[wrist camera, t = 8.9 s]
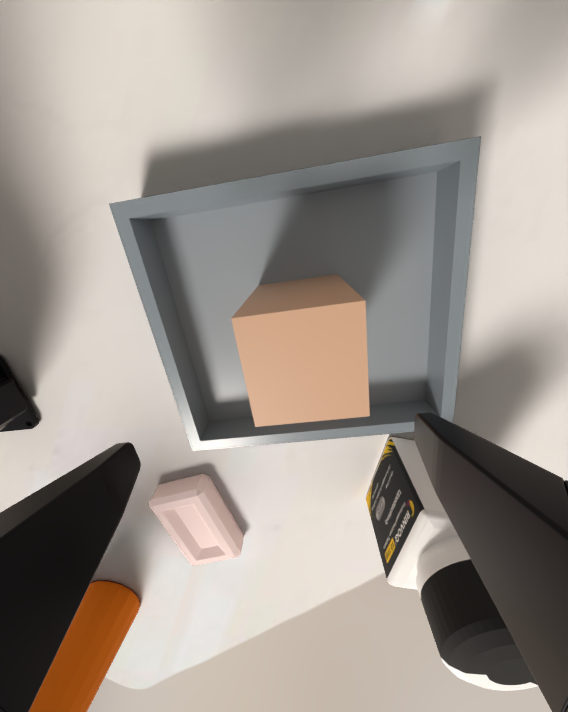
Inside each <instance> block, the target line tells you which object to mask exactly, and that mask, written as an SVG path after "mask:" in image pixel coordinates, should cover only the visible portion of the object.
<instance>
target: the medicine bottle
mask: <svg viewBox="0 0 568 712" xmlns="http://www.w3.org/2000/svg"><path fill="white" fill-rule="evenodd" d="M366 501H367V505H368V509H369V512H370V516H371V520H372V524H373V528H374V532H375V535H376V539H377V543H378V547H379V551H380V555H381V558H382V562H383V566H384V570H385V574H386V578H387V581H388V582H389V584H390V585H392V586H396V587H403V588H409V589H417V590H418V592H419V595H420V598H421V600H422V604H423V606H424V609H425V612H426V615H427V618H428V621H429V624H430V627H431V630H432V633H433V636H434V639H435V642H436V645H437V648H438V651H439V653H440V656H441V659H442V661H443V663H444V664H445V665H446V666H447V667H448V668H449V669H450V670H451V671H452V672H453V673H454V674H455V675H456V676H457V677H459V678H460V679H462V680H464V681H467V682H469V683H472V684H475V685H477V686H480V687H483V688H487V689H492V690H502V691H503V690H504V691H510V690H521V689H528V688H532V687H536V686H538V684H537V682H536V680H535V678H534V677H533V675H532V673H531V671H530V669H529V667H528V665H527V663H526V662H525V660H524V658H523V656H522V654H521V652H520V650H519V648H518V647H517V645H516V643H515V641H514V639H513V637H512V635H511V633H510V632H509V630H508V628H507V626H506V624H505V622H504V620H503V618H502V617H501V615H500V613H499V611H498V609H497V607H496V605H495V603H494V602H493V600H492V598H491V596H490V594H489V592H488V590H487V588H486V587H485V585H484V583H483V581H482V579H481V577H480V575H479V573H478V572H477V570H476V568H475V566H474V564H473V562H472V560H471V559H470V557H469V555H468V553H467V551H466V549H465V547H464V545H463V544H462V542H461V540H460V538H459V536H458V534H457V532H456V530H455V529H454V527H453V525H452V523H451V521H450V519H449V517H448V515H447V514H446V512H445V510H444V508H443V506H442V504H441V502H440V500H439V498H438V496H437V494H436V492H435V490H434V488H433V486H432V483H431V481H430V478H429V476H428V473H427V471H426V468H425V466H424V463H423V461H422V458H421V456H420V453H419V451H418V448H417V446H416V443H415V440H408V439H402V438H396V437H390V438H389V439H388V441H387V443H386V446H385V449H384V451H383V454H382V457H381V459H380V462H379V464H378V467H377V470H376V472H375V475H374V478H373V480H372V483H371V485H370V488H369V491H368V493H367V496H366Z"/></svg>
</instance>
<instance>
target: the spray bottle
mask: <svg viewBox="0 0 568 712" xmlns="http://www.w3.org/2000/svg"><path fill="white" fill-rule="evenodd" d="M139 607H140V602H139V599H138V597H137V596H136V595H135V594H134V593H133V592H132V591H131V590H130V589H129V588H127V587H125V586H123V585H121V584H118V583H114V582H110V581H97V582H93V583H90V585H89V587H88V589H87V591H86V593H85V596H84V598H83V600H82V602H81V604H80V606H79V608H78V610H77V612H76V614H75V616H74V619H73V621H72V623H71V625H70V627H69V629H68V631H67V633H66V635H65V637H64V639H63V641H62V644H61V646H60V648H59V650H58V652H57V654H56V656H55V658H54V660H53V662H52V664H51V667H50V669H49V671H48V673H47V675H46V677H45V679H44V681H43V683H42V685H41V687H40V690H39V692H38V694H37V696H36V698H35V700H34V702H33V704H32V706H31V708H30V710H29V712H87V710H88V708H89V706H90V704H91V702H92V701H93V699H94V697H95V695H96V693H97V691H98V689H99V687H100V685H101V683H102V681H103V679H104V677H105V675H106V673H107V671H108V669H109V667H110V665H111V664H112V662H113V660H114V658H115V656H116V654H117V652H118V650H119V648H120V646H121V644H122V642H123V640H124V638H125V636H126V634H127V632H128V630H129V628H130V626H131V625H132V623H133V621H134V619H135V617H136V615H137V613H138V610H139Z"/></svg>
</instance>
